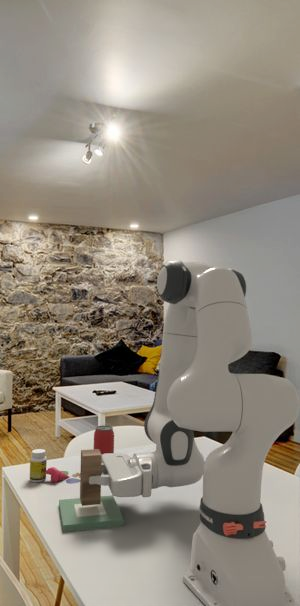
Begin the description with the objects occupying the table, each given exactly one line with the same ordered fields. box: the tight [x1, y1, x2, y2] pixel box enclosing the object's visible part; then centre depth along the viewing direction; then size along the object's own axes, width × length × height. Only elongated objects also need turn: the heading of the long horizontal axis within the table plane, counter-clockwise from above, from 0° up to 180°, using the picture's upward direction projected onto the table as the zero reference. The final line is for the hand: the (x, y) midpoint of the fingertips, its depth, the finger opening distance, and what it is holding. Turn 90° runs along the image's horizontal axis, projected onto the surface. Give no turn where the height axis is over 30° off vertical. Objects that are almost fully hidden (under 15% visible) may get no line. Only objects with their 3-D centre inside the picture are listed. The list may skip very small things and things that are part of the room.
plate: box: [58, 494, 125, 533], centre depth 113 cm, size 14×14×2 cm
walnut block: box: [79, 448, 102, 506], centre depth 113 cm, size 4×4×12 cm
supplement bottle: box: [29, 448, 48, 483], centre depth 135 cm, size 5×5×8 cm
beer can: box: [93, 425, 115, 455], centre depth 149 cm, size 7×7×12 cm
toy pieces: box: [45, 466, 80, 485], centre depth 137 cm, size 12×11×4 cm
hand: (87, 475), depth 113 cm, fingers closed on walnut block, 4 cm apart
